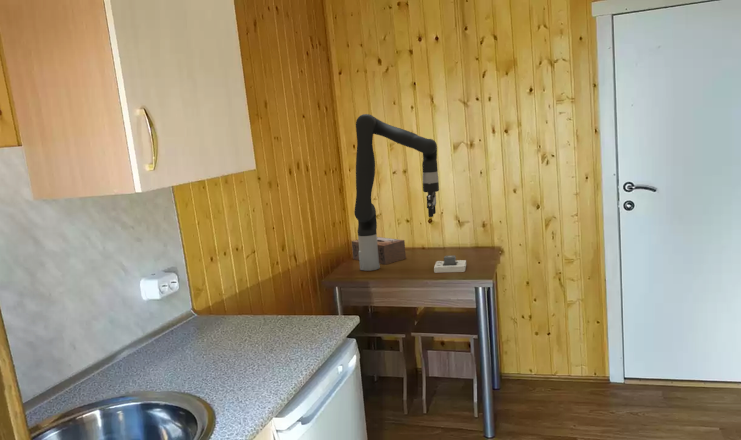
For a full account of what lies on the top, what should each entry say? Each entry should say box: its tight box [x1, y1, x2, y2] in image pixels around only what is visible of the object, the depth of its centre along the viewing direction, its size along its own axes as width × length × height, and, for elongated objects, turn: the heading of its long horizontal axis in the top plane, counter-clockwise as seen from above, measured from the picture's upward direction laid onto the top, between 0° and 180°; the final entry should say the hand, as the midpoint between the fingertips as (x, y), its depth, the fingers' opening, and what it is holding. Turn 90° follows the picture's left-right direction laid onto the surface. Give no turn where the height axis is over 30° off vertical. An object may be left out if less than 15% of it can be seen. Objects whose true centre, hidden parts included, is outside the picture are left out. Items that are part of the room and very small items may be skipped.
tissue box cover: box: [351, 236, 407, 266], centre depth 307 cm, size 26×14×10 cm, turn 41°
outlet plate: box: [433, 259, 467, 274], centre depth 273 cm, size 14×12×3 cm
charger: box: [443, 255, 457, 266], centre depth 273 cm, size 5×4×6 cm
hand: (432, 215), depth 278 cm, fingers open, 8 cm apart
